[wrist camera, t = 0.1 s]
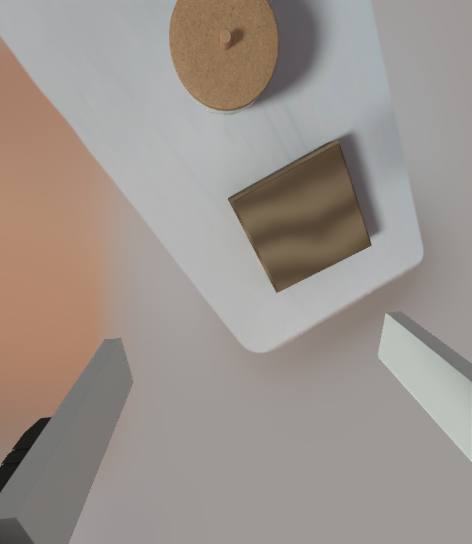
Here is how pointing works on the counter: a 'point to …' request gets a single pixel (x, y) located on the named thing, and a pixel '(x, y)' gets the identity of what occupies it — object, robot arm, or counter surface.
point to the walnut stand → (303, 217)
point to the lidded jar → (224, 51)
